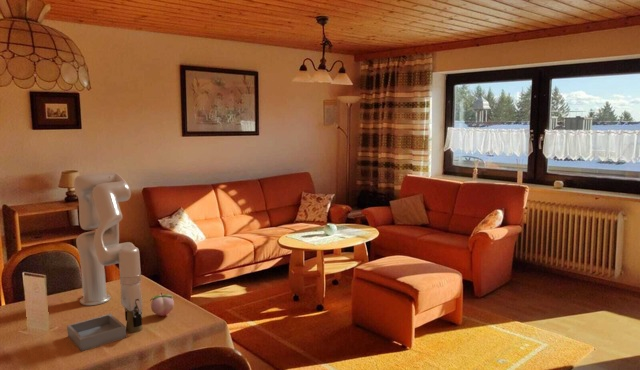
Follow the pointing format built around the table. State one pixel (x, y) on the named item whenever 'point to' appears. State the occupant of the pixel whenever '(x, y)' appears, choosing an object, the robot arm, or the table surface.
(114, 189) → the robot arm
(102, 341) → the box
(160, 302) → the decorative fruit
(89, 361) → the table surface
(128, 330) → the cork
